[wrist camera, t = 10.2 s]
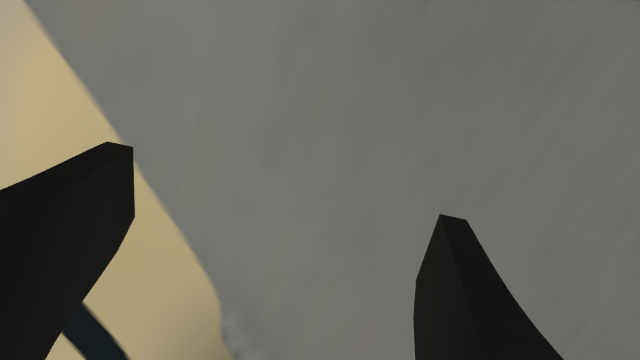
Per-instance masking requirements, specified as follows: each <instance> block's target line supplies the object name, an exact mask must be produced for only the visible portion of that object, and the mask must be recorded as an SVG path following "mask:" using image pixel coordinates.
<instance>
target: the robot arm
mask: <svg viewBox="0 0 640 360" xmlns="http://www.w3.org/2000/svg"><path fill="white" fill-rule="evenodd" d="M134 217H135V204H134V167H133V147H130V146H126V145H121V144H117V143H112V142H105V143H103V144H100V145H98V146H96V147H94V148H92V149H89V150H87V151H85V152H83V153H81V154H79V155H77V156H75V157H72V158H70V159H68V160H66V161H64V162H62V163H60V164H58V165H56V166H54V167H52V168H50V169H47V170H45V171H43V172H41V173H39V174H37V175H35V176H32V177H30V178H28V179H25V180H23V181H21V182H19V183H16V184H14V185H11V186H9V187H7V188H4V189H2V190H0V360H45V359H46V357H47V355H48V354H49V352H50V349H51V348H52V346H53V345H54V343H55V341H56V339H57V338H58V336H59V335H60V333H61V332H62V330H63V329H64V327H65V325H66V324H67V322H68V321H69V320H70V318H71V317H72V315H73V314H74V313H75V311H76V310H77V308H78V307H79V305H80V304H81V303H82V301H83V300H84V298H85V297H86V296H87V294H88V293H89V291H90V290H91V288H92V287H93V286H94V284H95V283H96V281H97V280H98V279H99V277H100V276H101V274H102V273H103V271H104V270H105V268H106V267H107V266H108V264H109V263H110V261H111V260H112V258H113V257H114V255H115V254H116V252H117V251H118V249H119V247H120V245H121V243H122V241H123V239H124V237H125V236H126V233H127V232H128V229H129V227H130V225H131V223H132V221H133V219H134ZM413 319H414V341H415V360H564V359H563V358H562V357H561V356H560V355H559V354H558V353H557V352H556V351H555V349H554V348H553V347H552V346H551V345H550V344H549V342H548V341H547V340H546V339H545V338H544V337H543V335H542V334H541V333H540V332H539V331H538V329H537V328H536V327H535V326H534V324H533V323H532V322H531V321H530V319H529V318H528V317H527V315H526V314H525V312H524V311H523V310H522V308H521V307H520V306H519V304H518V303H517V302H516V300H515V299H514V297H513V296H512V294H511V293H510V292H509V290H508V289H507V287H506V285H505V284H504V282H503V281H502V279H501V278H500V276H499V274H498V273H497V271H496V270H495V268H494V266H493V265H492V263H491V261H490V260H489V258H488V256H487V255H486V253H485V251H484V250H483V248H482V246H481V244H480V243H479V241H478V239H477V237H476V236H475V234H474V232H473V230H472V229H471V227H470V225H469V224H468V222H467V220H465V219H460V218H456V217H451V216H446V215H442V214H440V215H439V218H438V220H437V223H436V226H435V229H434V232H433V234H432V237H431V240H430V243H429V245H428V248H427V251H426V254H425V257H424V259H423V262H422V265H421V268H420V270H419V273H418V276H417V279H416V290H415V302H414V317H413Z"/></svg>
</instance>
